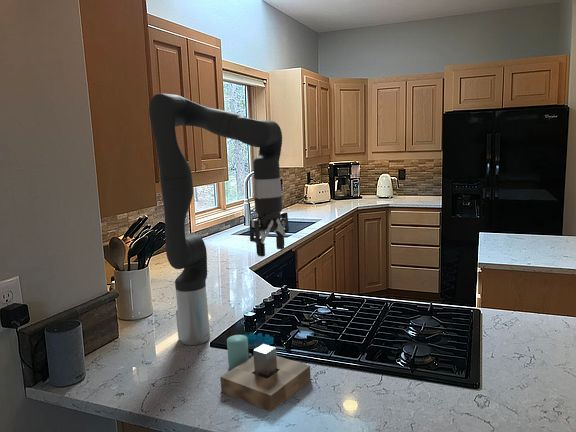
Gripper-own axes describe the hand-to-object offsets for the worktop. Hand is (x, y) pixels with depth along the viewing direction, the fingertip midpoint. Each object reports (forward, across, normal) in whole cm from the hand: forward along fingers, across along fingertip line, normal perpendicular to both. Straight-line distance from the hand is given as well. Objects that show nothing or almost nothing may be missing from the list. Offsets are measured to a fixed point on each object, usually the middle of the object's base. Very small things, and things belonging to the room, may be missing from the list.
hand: (271, 252), depth 130 cm
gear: (+30, +3, -5) cm, 31 cm away
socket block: (+30, +16, +9) cm, 35 cm away
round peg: (+30, +12, -4) cm, 32 cm away
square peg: (+30, +16, +9) cm, 35 cm away
